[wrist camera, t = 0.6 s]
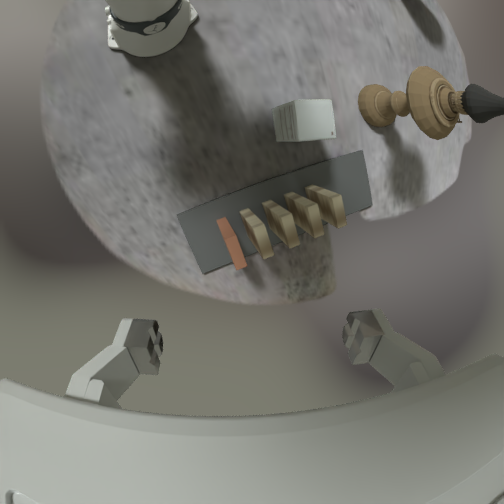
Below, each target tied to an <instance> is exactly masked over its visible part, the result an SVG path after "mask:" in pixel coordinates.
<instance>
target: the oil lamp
mask: <svg viewBox="0 0 504 504" xmlns="http://www.w3.org/2000/svg"><path fill="white" fill-rule="evenodd" d="M358 105H359V110H360V112H361V114H362V117H363V118H364V119H365V120H366V121H367V123H369V124H371V125H372V126H376V127H384V126H387V125H390V124H391V123H392V122H393V121H394V120H395V118H396V115H399V116H401V117H404V116H407V115H408V114H409V113H411V116H412V118H413V119H414V121H415V122H416V124H417V125H418V127H419V128H420V130H422V131H423V132H424V133H425V134H426V135H427V136H429V137H430V138H433V139H436V140H439V139H442V138H445V137H447V136H448V135H449V133H450V132H451V131H452V130H453V128H454V127H455V124H456V123H462V121H460V119H459V121H458V118H459V113H460V114H464V115H469V116H470V117H471V118H472V119H473V120H474V121H475V122H476V123H485V122H487V121H488V120H490V119H492V118H494V117H496V116H500V115H504V98H502V97H500V96H497V95H495V94H492V93H491V92H489V91H487V90H485V89H484V88H482V87H480V86H478V85H475V84H470V85H468V86H467V88H466V89H465V91H457V92H455V90H454V88H453V87H452V85H451V84H450V83H449V82H448V81H447V80H446V79H445V78H444V77H443V76H442V75H441V74H440V73H439V72H437V71H436V70H434V69H432V68H430V67H427V66H420V67H418V68H417V69H415V70H414V71H413V72H412V73H411V75H410V78H409V80H408V82H407V88H406V94H405V93H404V92H402V91H395V92H394V93H393V94H392V93H391V92H390V91H389V90H388V89H387V88H385V87H384V86H381V85H377V84H374V85H367V86H365V87H364V88H363V89H362V90H361V92H360V93H359V97H358Z"/></svg>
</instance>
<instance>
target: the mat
mask: <svg viewBox="0 0 504 504" xmlns="http://www.w3.org/2000/svg"><path fill="white" fill-rule="evenodd" d="M312 184H313V185H316V186H318V187H321V188H324V189H327V190H329V191H332V192H335V193H338V194H340V195H341V196H342V201H343V206H344V211H345V216H347V215H349V214H352V213H354V212H357V211H359V210H362V209H364V208H367V207H369V206H372V198H371V192H370V186H369V180H368V174H367V169H366V164H365V159H364V154H363V151H362V150H360V151H357V152H353V153H350V154H346V155H343V156H340V157H336V158H333V159H330V160H326V161H323V162H320V163H317V164H314V165H310V166H307V167H304V168H301V169H298V170H295V171H292V172H289V173H286V174H283V175H280V176H277V177H274V178H271V179H269V180H266V181H263V182H260V183H257V184H255V185H252V186H249V187H246V188H244V189H241V190H238V191H235V192H233V193H230V194H228V195H225V196H222V197H220V198H217V199H215V200H212V201H210V202H207V203H204V204H202V205H199V206H197V207H195V208H192V209H190V210H187V211H185V212H182V213H180V214H178V215H177V217H178V220H179V222H180V224H181V227H182V229H183V231H184V234H185V236H186V238H187V240H188V243H189V245H190V247H191V249H192V252H193V254H194V256H195V258H196V260H197V263H198V265H199V267H200V269H201V271H202V274H203V273H206V272H208V271H211V270H213V269H216V268H218V267H221V266H223V265H226V264H228V263H231V262H233V261H232V258H231V256H230V254H229V251H228V249H227V247H226V244H225V242H224V239H223V237H222V234H221V231H220V229H219V226H218V224H217V221H216V220H218V219H221V218H223V217H226V219H227V220H228V222H229V224H230V226H231V227H232V229H233V231H234V233H235V234H236V236H237V239H238V242H239V244H240V247H241V250H242V253H243V255H244V257H246V256H248V255H251V254H253V253H256V252H258V251H257V249H256V248H255V246H254V245H253V243H252V242H251V240H250V239H249V238H248V235H247V232H246V230H245V227H244V224H243V221H242V218H241V215H240V212H239V211H241V210H244V209H247V208H249V209H250V210H251V211H252V212H253V213H254V214H255V215H256V216H257V217H258V218H259V219H260V220H261V221H262V222H263V223H264V224H265V227H266V230H267V234H268V237H269V240H270V243H271V246H273V245H275V244H278V243H280V242H283V241H282V240H281V239H280V238H279V237H278V236H277V235H276V234H275V233H274V232H273V231H272V230H271V229H270V227H269V224H268V221H267V218H266V215H265V212H264V208H263V205H262V203H263V202H265V201H268V200H272V201H274V202H275V203H277V204H278V205H280V206H281V207H283V208H284V209H286V210H287V211H288V208H287V205H286V201H285V198H284V194H287V193H290V192H294V193H296V194H298V195H300V196H302V197H305V198H307V195H306V191H305V187H307V186H310V185H312ZM321 221H322V225H325V224H327V223H328V222H326V221H325V220H323V219H321ZM295 227H296V231H297V234H298V235H300V234H303V233H305V232H306V231H305V230H303V229H302V228H301V227H299V226H298V225H297V224H295Z"/></svg>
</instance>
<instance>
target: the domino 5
mask: <svg viewBox="0 0 504 504" xmlns="http://www.w3.org/2000/svg"><path fill="white" fill-rule="evenodd" d="M305 191H306V195H307V199H309V200H311V201H313V202H315V203H317V204H318V208H319V212H320V216H321V219H323V220H325V221H326V222H328V223H330V224H331V225H333V226H335V227H337V228H341V227H343V226H346V225H347V222H346V216H345V211H344V206H343V201H342V196H341V195H340V194H338V193H335V192H332V191H329V190H327V189H324V188H321V187H318V186H316V185H313V184H312V185H310V186H307V187H305Z"/></svg>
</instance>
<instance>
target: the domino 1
mask: <svg viewBox="0 0 504 504" xmlns="http://www.w3.org/2000/svg"><path fill="white" fill-rule="evenodd" d="M216 221H217V224H218V226H219V229H220V231H221V234H222V237H223V239H224V242H225V244H226V247H227V249H228V251H229V254H230V256H231V258H232V261H233V263H234V265H235V268H236V270H239V269H241V268H244V267H246V266H247V263H246V261H245V258H244V255H243V253H242V250H241V247H240V244H239V242H238V239H237V236H236V234H235V233H234V231H233V229H232V227H231V226H230V224H229V222H228V220H227V219H226V217H223V218H221V219H218V220H216Z"/></svg>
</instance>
